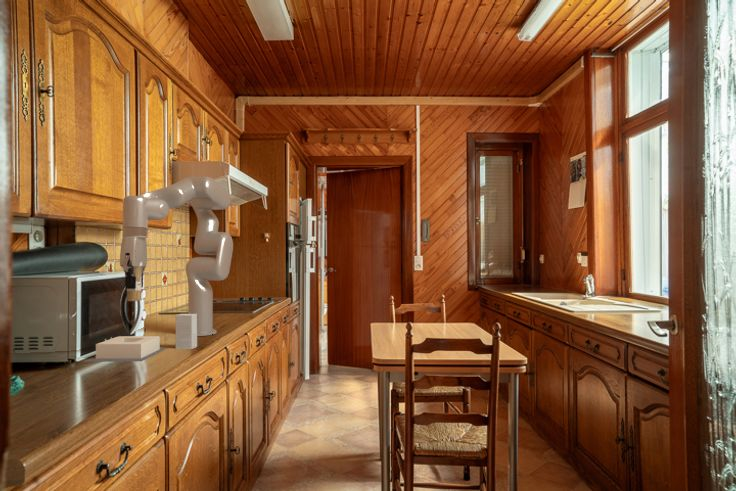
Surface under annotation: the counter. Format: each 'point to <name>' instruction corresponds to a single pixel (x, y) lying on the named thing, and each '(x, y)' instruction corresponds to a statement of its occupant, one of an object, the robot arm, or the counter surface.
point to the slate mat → (125, 358)
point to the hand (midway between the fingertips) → (134, 287)
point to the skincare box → (186, 331)
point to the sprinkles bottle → (136, 293)
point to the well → (127, 347)
